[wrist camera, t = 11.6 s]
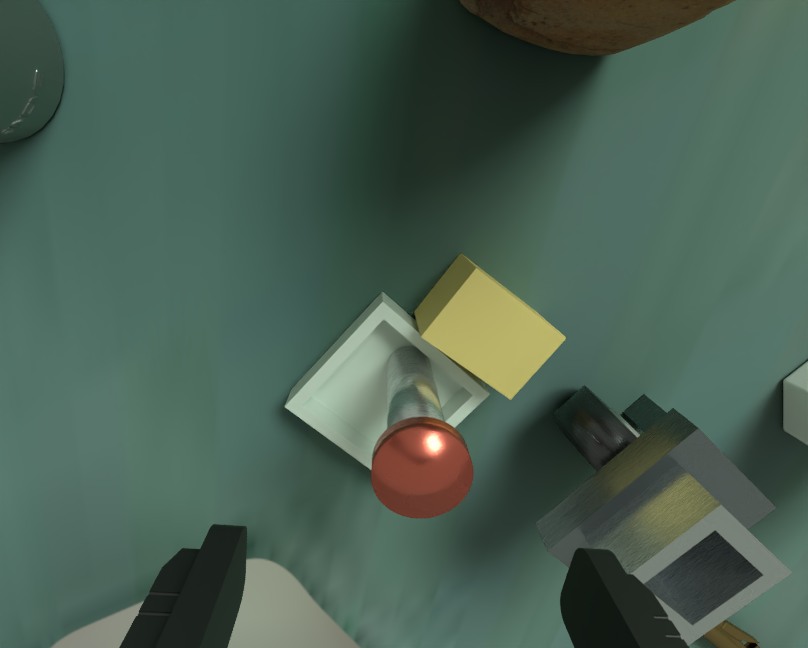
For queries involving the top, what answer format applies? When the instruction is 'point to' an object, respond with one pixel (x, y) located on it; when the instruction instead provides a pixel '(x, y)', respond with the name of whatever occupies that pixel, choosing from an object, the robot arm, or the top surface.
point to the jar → (796, 403)
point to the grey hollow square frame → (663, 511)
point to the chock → (486, 327)
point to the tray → (374, 381)
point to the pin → (418, 444)
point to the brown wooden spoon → (729, 636)
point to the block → (590, 21)
